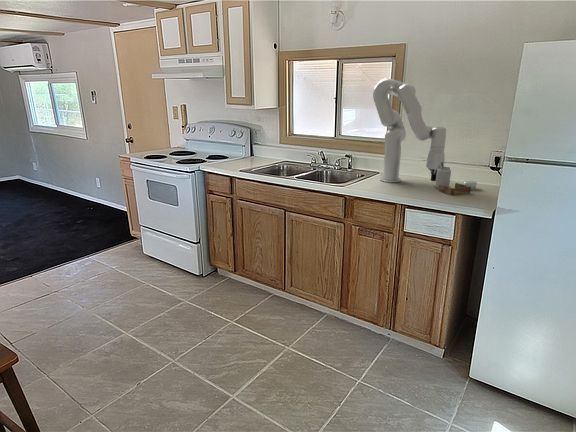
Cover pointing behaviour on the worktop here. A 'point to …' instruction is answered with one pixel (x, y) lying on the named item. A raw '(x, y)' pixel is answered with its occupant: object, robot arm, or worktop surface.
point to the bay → (455, 189)
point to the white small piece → (470, 184)
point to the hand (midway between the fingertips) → (433, 180)
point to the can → (443, 177)
